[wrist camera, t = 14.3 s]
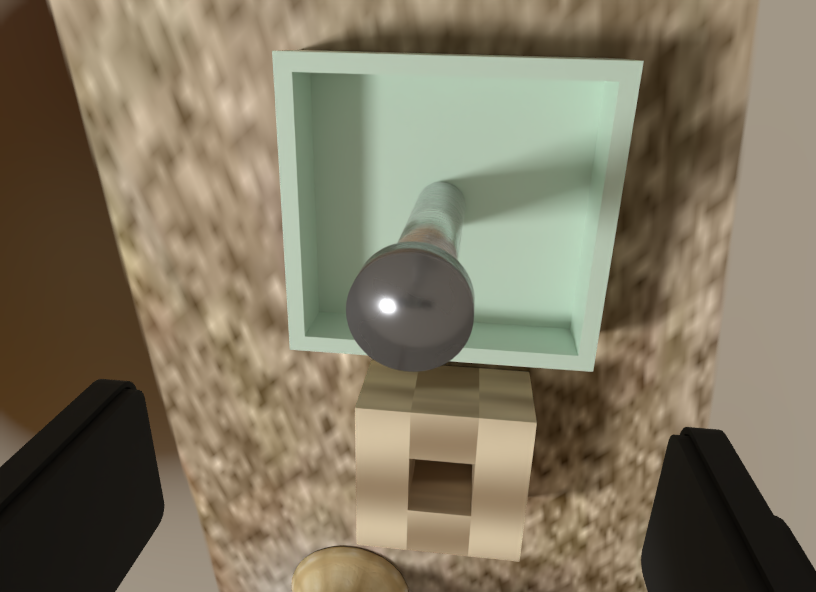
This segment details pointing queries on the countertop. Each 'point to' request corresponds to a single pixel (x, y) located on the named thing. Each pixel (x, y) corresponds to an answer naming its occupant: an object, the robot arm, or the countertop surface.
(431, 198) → the steel pin
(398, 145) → the tray
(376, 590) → the hand bell
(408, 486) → the hitch block
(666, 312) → the countertop surface
